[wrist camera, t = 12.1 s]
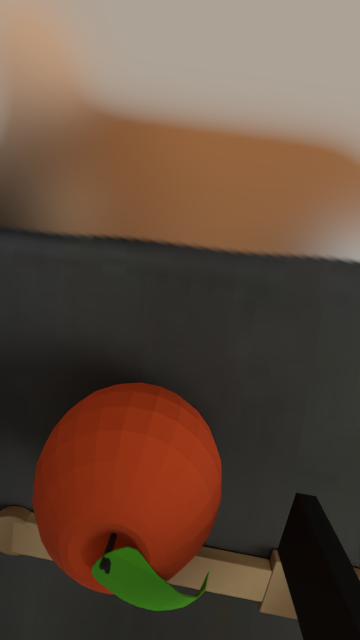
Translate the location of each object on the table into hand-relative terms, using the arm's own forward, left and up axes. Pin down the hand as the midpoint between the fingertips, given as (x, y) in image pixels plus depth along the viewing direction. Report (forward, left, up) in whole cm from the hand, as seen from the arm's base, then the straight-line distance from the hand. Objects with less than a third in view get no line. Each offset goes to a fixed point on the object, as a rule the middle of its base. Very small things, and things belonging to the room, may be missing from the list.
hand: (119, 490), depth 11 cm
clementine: (+1, 0, -4) cm, 4 cm away
